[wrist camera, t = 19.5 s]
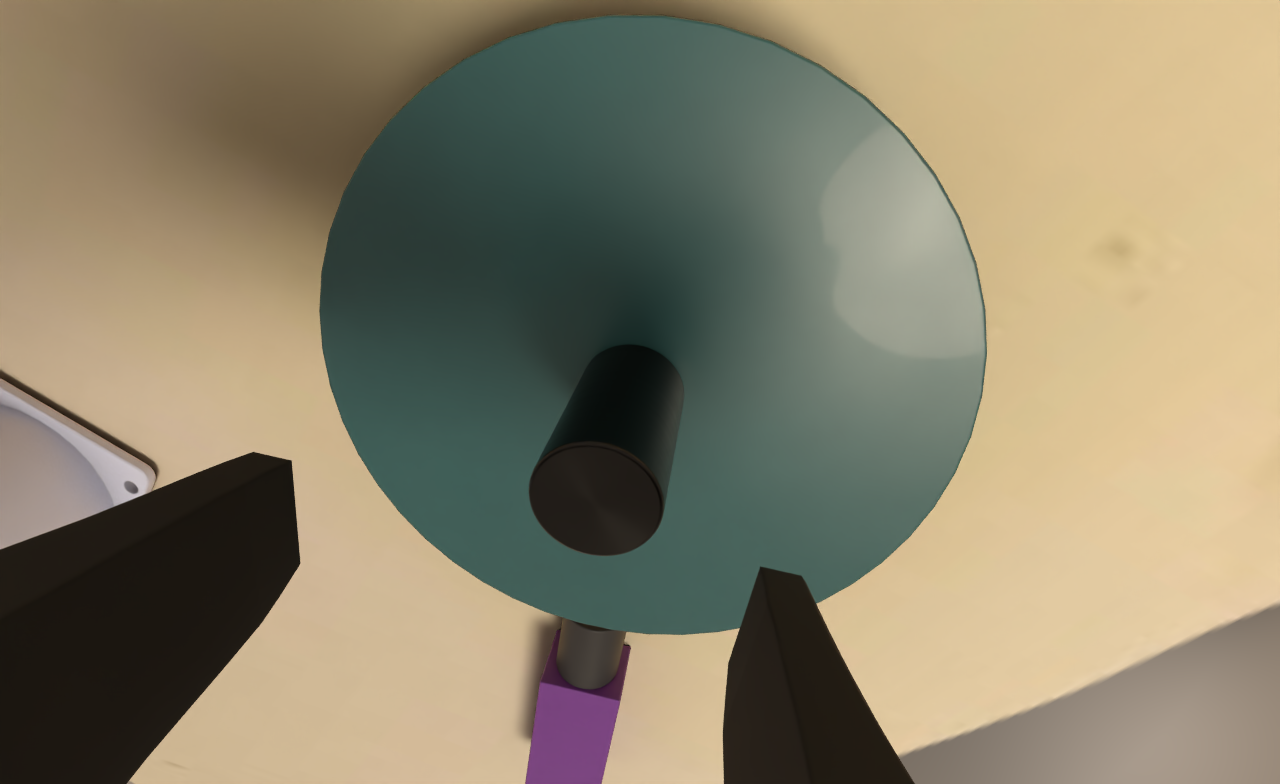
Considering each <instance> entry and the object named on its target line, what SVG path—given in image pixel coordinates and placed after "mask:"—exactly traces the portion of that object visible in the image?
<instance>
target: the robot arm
mask: <svg viewBox="0 0 1280 784" xmlns="http://www.w3.org/2000/svg"><path fill="white" fill-rule="evenodd" d="M155 478H156V476H155V473H154V471H153V469H152V468H151V467H150V466H149V465H147V464H146V463H144V462H142V461H141V460H139V459H137V458H136V457H134V456H132V455H130V454H129V453H127V452H125V451H124V450H122V449H120V448H119V447H117V446H115V445H113V444H112V443H110V442H108V441H107V440H105V439H103V438H102V437H100V436H98V435H96V434H95V433H93V432H91V431H90V430H88V429H86V428H85V427H83V426H81V425H79V424H78V423H76V422H74V421H73V420H71V419H69V418H67V417H66V416H64V415H62V414H61V413H59V412H57V411H56V410H54V409H52V408H50V407H49V406H47V405H45V404H44V403H42V402H40V401H39V400H37V399H35V398H33V397H32V396H30V395H28V394H27V393H25V392H23V391H22V390H20V389H18V388H16V387H15V386H13V385H11V384H10V383H8V382H6V381H4V380H3V379H1V378H0V784H127V782H128V781H129V780H130V779H131V777H132V776H133V775H134V774H135V772H136V771H137V770H138V769H139V767H140V766H141V765H142V764H143V762H144V761H145V760H146V759H147V757H148V756H149V755H150V754H151V753H152V751H153V750H154V749H155V748H156V747H157V746H158V744H159V743H160V742H161V741H162V740H163V739H164V737H165V736H166V735H167V734H168V733H169V732H170V730H171V729H172V728H173V727H174V726H175V725H176V723H177V722H178V721H179V720H180V719H181V718H182V716H183V715H184V714H185V713H186V712H187V711H188V709H189V708H190V707H191V706H192V705H193V704H194V702H195V701H196V700H197V699H198V698H199V697H200V695H201V694H202V693H203V692H204V691H205V690H206V688H207V687H208V686H209V685H210V684H211V683H212V681H213V680H214V679H215V678H216V677H217V676H218V674H219V673H220V672H221V671H222V670H223V668H224V667H225V666H226V665H227V664H228V663H229V661H230V660H231V659H232V658H233V657H234V655H235V654H236V653H237V652H238V651H239V649H240V648H241V647H242V646H243V645H244V644H245V642H246V641H247V640H248V639H249V638H250V636H251V635H252V634H253V633H254V631H255V630H256V629H257V628H258V627H259V625H260V624H261V623H262V622H263V620H264V619H265V617H266V616H267V614H268V613H269V611H270V610H271V608H272V607H273V605H274V604H275V602H276V601H277V600H278V598H279V597H280V595H281V594H282V592H283V590H284V589H285V587H286V586H287V584H288V582H289V581H290V579H291V578H292V576H293V574H294V573H295V571H296V570H297V568H298V567H299V565H300V554H299V542H298V531H297V519H296V507H295V496H294V484H293V472H292V461H291V460H286V459H282V458H277V457H273V456H269V455H264V454H260V453H255V452H252V453H249V454H246V455H243V456H240V457H238V458H235V459H232V460H229V461H227V462H224V463H221V464H219V465H216V466H214V467H211V468H208V469H206V470H203V471H201V472H198V473H196V474H193V475H191V476H189V477H186V478H184V479H181V480H179V481H176V482H174V483H171V484H169V485H166V486H164V487H161V488H159V489H157V490H154V491H152V492H151V490H152V488H153V485H154V483H155ZM723 761H724V784H915V783H914V782H913V780H912V779H911V777H910V775H909V774H908V772H907V770H906V769H905V767H904V766H903V764H902V762H901V761H900V759H899V757H898V756H897V754H896V752H895V751H894V749H893V748H892V746H891V744H890V743H889V741H888V739H887V738H886V736H885V734H884V732H883V731H882V729H881V727H880V726H879V724H878V722H877V720H876V719H875V717H874V715H873V713H872V711H871V710H870V708H869V706H868V704H867V702H866V700H865V699H864V697H863V695H862V693H861V691H860V690H859V688H858V686H857V684H856V682H855V680H854V679H853V677H852V675H851V673H850V671H849V669H848V667H847V665H846V664H845V662H844V660H843V658H842V656H841V654H840V652H839V650H838V648H837V646H836V644H835V642H834V640H833V638H832V636H831V634H830V632H829V630H828V628H827V626H826V624H825V622H824V620H823V617H822V615H821V613H820V611H819V609H818V607H817V605H816V603H815V600H814V598H813V596H812V594H811V592H810V590H809V588H808V585H807V583H806V582H805V580H804V579H803V577H802V576H801V575H797V574H792V573H788V572H783V571H779V570H775V569H770V568H766V567H761V566H760V569H759V572H758V575H757V578H756V581H755V584H754V587H753V590H752V593H751V596H750V599H749V602H748V605H747V608H746V611H745V614H744V617H743V620H742V623H741V626H740V630H739V633H738V636H737V639H736V642H735V645H734V648H733V651H732V654H731V657H730V660H729V663H728V674H727V685H726V697H725V710H724V723H723Z"/></svg>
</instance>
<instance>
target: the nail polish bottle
mask: <svg viewBox="0 0 1280 784" xmlns="http://www.w3.org/2000/svg"><path fill="white" fill-rule="evenodd" d="M625 635H626V631H618V630H611V629H606V628H602V627H597V626H592V625H588V624H583V623H579V622H575V621H572V620H569V619H566V618H563V620H562V626H561V630H557V632H556V635H555V638H554V641H553V644H552V647H551V650H550V653H549V656H548V659H547V662H546V665H545V668H544V671H543V674H542V677H541V680H540V684H539V691H538V698H537V705H536V712H535V719H534V726H533V733H532V740H531V747H530V754H529V761H528V768H527V775H526V782H525V784H602V779H603V775H604V770H605V766H606V762H607V757H608V753H609V749H610V744H611V740H612V735H613V731H614V727H615V722H616V718H617V714H618V709H619V705H620V700H621V695H622V690H623V685H624V680H625V675H626V670H627V664H628V659H629V654H630V649H631V648H630V646H625V645H623V644H624V639H625Z"/></svg>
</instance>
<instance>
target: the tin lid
mask: <svg viewBox="0 0 1280 784" xmlns="http://www.w3.org/2000/svg"><path fill="white" fill-rule="evenodd" d="M320 324H321V336H322V348H323V354H324V358H325V363H326V368H327V372H328V377H329V382H330V386H331V389H332V392H333V395H334V398H335V401H336V404H337V407H338V410H339V412H340V415H341V418H342V421H343V423H344V425H345V427H346V429H347V432H348V434H349V436H350V438H351V440H352V442H353V444H354V446H355V448H356V450H357V452H358V454H359V456H360V457H361V459H362V461H363V462H364V464H365V465H366V467H367V469H368V470H369V472H370V473H371V475H372V476H373V478H374V480H375V481H376V483H377V484H378V486H379V487H380V488H381V490H382V491H383V492H384V493H385V495H386V496H387V497H388V498H389V500H390V501H391V502H392V503H393V505H394V506H395V507H396V508H397V510H398V511H399V512H400V513H401V514H402V515H403V516H404V517H405V519H406V520H407V521H408V522H409V523H410V524H411V525H412V526H413V527H414V528H415V529H416V530H417V531H418V532H419V533H420V534H421V535H422V536H423V537H424V538H425V539H426V540H427V541H429V542H430V543H431V544H432V545H433V546H435V547H436V548H437V549H438V550H440V551H441V552H442V553H443V554H444V555H446V556H447V557H448V558H449V559H450V560H452V561H453V562H454V563H456V564H457V565H459V566H460V567H462V568H463V569H465V570H466V571H468V572H469V573H470V574H472V575H473V576H475V577H476V578H478V579H479V580H481V581H482V582H484V583H486V584H488V585H490V586H492V587H493V588H495V589H497V590H499V591H501V592H503V593H504V594H506V595H508V596H510V597H512V598H514V599H516V600H519V601H521V602H523V603H526V604H528V605H530V606H533V607H535V608H537V609H540V610H542V611H544V612H547V613H550V614H553V615H557V616H560V617H563V618H566V619H569V620H572V621H575V622H579V623H583V624H588V625H592V626H597V627H602V628H606V629H611V630H618V631H626V632H635V633H643V634H672V635H686V634H699V633H711V632H721V631H726V630H732V629H737V628H740V626H741V623H742V620H743V617H744V614H745V611H746V608H747V605H748V602H749V599H750V596H751V593H752V590H753V587H754V584H755V581H756V578H757V575H758V572H759V569H760V566H761V567H766V568H770V569H775V570H779V571H783V572H788V573H792V574H797V575H801V576H802V577H803V579H804V580H805V582H806V583H807V585H808V588H809V590H810V592H811V594H812V596H813V598H814V600H815V603H819V602H821V601H823V600H824V599H826V598H828V597H830V596H832V595H833V594H835V593H837V592H839V591H841V590H842V589H844V588H846V587H848V586H850V585H851V584H853V583H854V582H856V581H857V580H859V579H860V578H861V577H863V576H864V575H865V574H867V573H868V572H870V571H871V570H872V569H874V568H875V567H876V566H878V565H879V564H881V563H882V562H883V561H884V560H885V559H886V558H887V557H889V556H890V555H891V554H892V553H893V552H894V551H895V550H896V549H897V548H898V547H899V546H900V545H901V544H902V543H904V542H905V541H906V540H907V539H908V538H909V537H910V536H911V535H912V533H913V532H914V531H915V530H916V529H917V527H918V526H919V525H920V524H921V522H922V521H923V520H924V519H925V518H926V516H927V515H928V514H929V513H930V512H931V510H932V509H933V508H934V507H935V505H936V503H937V502H938V500H939V498H940V497H941V495H942V494H943V492H944V490H945V489H946V487H947V485H948V484H949V482H950V481H951V479H952V477H953V476H954V474H955V472H956V470H957V468H958V465H959V463H960V461H961V458H962V456H963V454H964V451H965V449H966V447H967V445H968V442H969V440H970V438H971V435H972V431H973V427H974V424H975V420H976V416H977V413H978V409H979V405H980V401H981V398H982V392H983V383H984V375H985V366H986V357H987V341H986V315H985V305H984V300H983V295H982V289H981V284H980V279H979V274H978V269H977V264H976V261H975V258H974V255H973V253H972V250H971V247H970V244H969V242H968V239H967V236H966V233H965V231H964V228H963V225H962V222H961V220H960V217H959V215H958V214H957V212H956V210H955V208H954V206H953V205H952V203H951V201H950V199H949V197H948V195H947V194H946V192H945V190H944V188H943V186H942V185H941V183H940V181H939V179H938V177H937V176H936V174H935V173H934V171H933V170H932V169H931V167H930V166H929V165H928V163H927V162H926V161H925V160H924V158H923V157H922V156H921V154H920V153H919V152H918V151H917V149H916V148H915V147H914V145H913V144H912V143H911V141H910V140H909V139H908V138H907V136H906V135H905V134H904V133H903V132H902V131H901V130H900V129H899V128H898V127H897V126H896V125H895V124H894V123H893V122H892V121H891V120H890V119H889V118H888V117H887V116H886V115H884V114H883V113H882V112H881V111H880V110H879V109H878V108H877V107H876V106H875V105H874V104H873V103H872V102H871V101H870V100H869V99H868V98H867V97H866V96H864V95H863V94H861V93H860V92H858V91H857V90H856V89H854V88H853V87H851V86H850V85H848V84H847V83H846V82H844V81H843V80H841V79H840V78H838V77H837V76H835V75H834V74H833V73H831V72H830V71H828V70H827V69H825V68H824V67H823V66H821V65H819V64H817V63H815V62H813V61H811V60H809V59H807V58H805V57H803V56H801V55H799V54H797V53H795V52H793V51H791V50H789V49H787V48H785V47H783V46H781V45H779V44H777V43H775V42H773V41H770V40H767V39H764V38H761V37H758V36H755V35H751V34H748V33H745V32H742V31H739V30H736V29H733V28H730V27H726V26H723V25H720V24H715V23H709V22H703V21H697V20H690V19H684V18H678V17H672V16H665V15H606V16H599V17H592V18H585V19H578V20H571V21H564V22H557V23H554V24H551V25H548V26H544V27H541V28H538V29H535V30H531V31H528V32H525V33H522V34H518V35H515V36H512V37H509V38H506V39H504V40H502V41H500V42H498V43H496V44H494V45H492V46H490V47H488V48H486V49H484V50H482V51H480V52H478V53H476V54H474V55H472V56H469V57H467V58H465V59H463V60H462V61H460V62H459V63H458V64H456V65H455V66H453V67H452V68H450V69H449V70H448V71H446V72H445V73H443V74H442V75H440V76H439V77H438V78H436V79H435V80H433V81H432V82H430V83H429V84H428V85H426V86H425V87H424V88H422V89H421V90H420V91H419V92H418V93H417V94H416V95H415V96H414V97H413V98H412V99H411V100H410V101H409V102H408V103H407V104H406V105H405V106H404V107H403V108H402V109H401V110H400V111H399V112H398V113H397V114H396V115H394V116H393V117H392V118H391V119H390V121H389V122H388V123H387V125H386V126H385V127H384V129H383V130H382V131H381V133H380V134H379V135H378V137H377V138H376V139H375V141H374V142H373V143H372V145H371V146H370V147H369V149H368V150H367V151H366V153H365V154H364V156H363V157H362V159H361V161H360V163H359V165H358V167H357V169H356V170H355V172H354V174H353V176H352V178H351V180H350V182H349V183H348V185H347V187H346V189H345V191H344V193H343V196H342V198H341V201H340V204H339V207H338V210H337V212H336V215H335V218H334V221H333V224H332V227H331V229H330V232H329V237H328V242H327V247H326V252H325V257H324V262H323V267H322V274H321V292H320Z"/></svg>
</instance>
